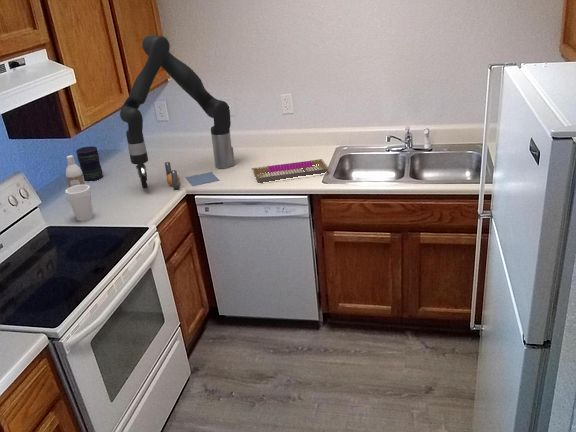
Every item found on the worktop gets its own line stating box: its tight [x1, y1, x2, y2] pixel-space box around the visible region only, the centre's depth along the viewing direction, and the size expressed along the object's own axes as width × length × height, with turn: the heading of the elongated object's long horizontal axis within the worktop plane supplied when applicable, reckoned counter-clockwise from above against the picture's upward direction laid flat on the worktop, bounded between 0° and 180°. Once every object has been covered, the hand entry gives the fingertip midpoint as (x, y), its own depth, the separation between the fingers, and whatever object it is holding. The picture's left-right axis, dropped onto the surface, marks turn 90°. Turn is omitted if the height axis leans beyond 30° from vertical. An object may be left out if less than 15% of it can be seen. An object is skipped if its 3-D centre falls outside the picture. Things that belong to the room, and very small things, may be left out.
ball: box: [166, 173, 181, 187], centre depth 244 cm, size 6×6×6 cm
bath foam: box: [65, 154, 86, 188], centre depth 234 cm, size 7×7×20 cm
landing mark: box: [185, 171, 220, 187], centre depth 250 cm, size 13×13×1 cm
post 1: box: [164, 161, 172, 177], centre depth 249 cm, size 3×3×9 cm
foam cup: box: [64, 184, 94, 222], centre depth 215 cm, size 10×9×13 cm
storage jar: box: [75, 145, 104, 182], centre depth 257 cm, size 10×10×15 cm
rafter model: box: [251, 158, 331, 184], centre depth 247 cm, size 35×14×6 cm, turn 102°
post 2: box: [171, 169, 180, 191], centre depth 238 cm, size 3×3×9 cm
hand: (144, 187), depth 240 cm, fingers closed
